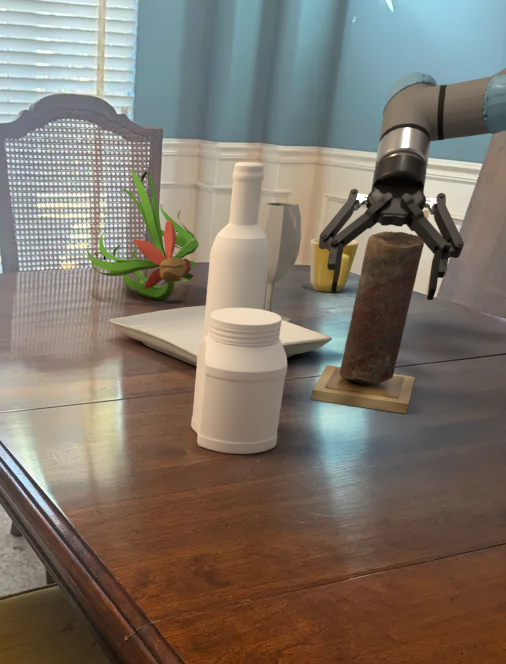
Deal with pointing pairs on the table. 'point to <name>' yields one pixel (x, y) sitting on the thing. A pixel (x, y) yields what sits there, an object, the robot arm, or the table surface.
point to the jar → (239, 382)
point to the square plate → (201, 333)
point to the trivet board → (364, 391)
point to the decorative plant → (152, 250)
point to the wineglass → (280, 242)
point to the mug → (321, 274)
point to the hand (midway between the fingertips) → (382, 291)
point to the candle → (381, 306)
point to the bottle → (239, 249)
